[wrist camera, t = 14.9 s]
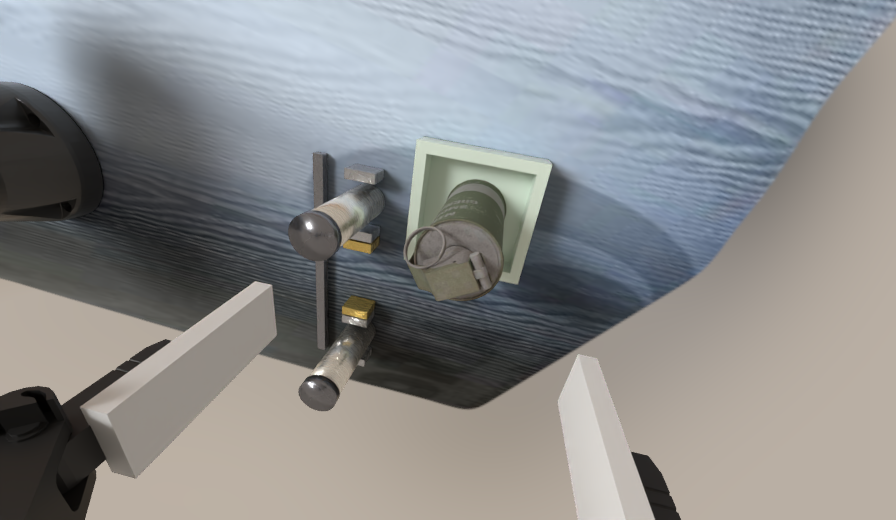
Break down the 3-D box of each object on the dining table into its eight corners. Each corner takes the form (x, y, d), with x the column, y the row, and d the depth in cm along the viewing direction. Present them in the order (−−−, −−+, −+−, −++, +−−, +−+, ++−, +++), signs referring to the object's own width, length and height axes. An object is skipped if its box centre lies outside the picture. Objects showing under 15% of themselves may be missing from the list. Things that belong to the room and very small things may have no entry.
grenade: (494, 169, 31) (482, 219, 17) (514, 227, 33) (516, 313, 19) (433, 192, 33) (378, 253, 19) (455, 246, 35) (419, 335, 21)
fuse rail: (321, 343, 45) (268, 410, 35) (318, 151, 33) (237, 171, 24) (374, 356, 44) (334, 428, 34) (388, 165, 33) (336, 191, 23)
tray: (411, 247, 36) (403, 259, 34) (424, 136, 31) (416, 139, 28) (517, 270, 35) (517, 284, 33) (548, 159, 30) (552, 165, 27)
